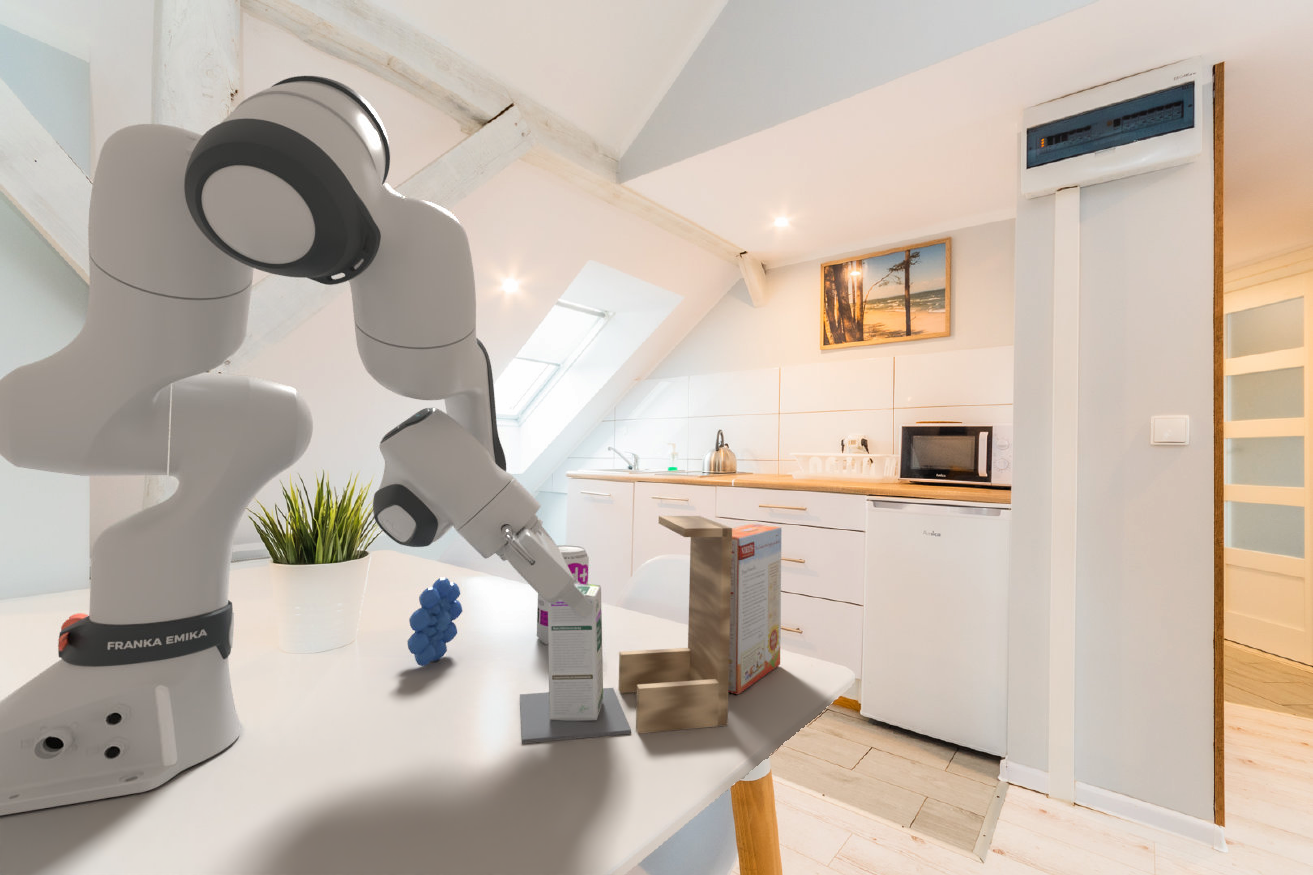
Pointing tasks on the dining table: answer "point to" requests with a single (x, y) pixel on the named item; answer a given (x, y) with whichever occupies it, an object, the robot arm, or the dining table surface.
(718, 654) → the shelf slot
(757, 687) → the dining table surface
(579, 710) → the syrup box
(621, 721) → the mat
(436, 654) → the grapes
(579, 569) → the supplement can
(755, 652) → the cracker box
